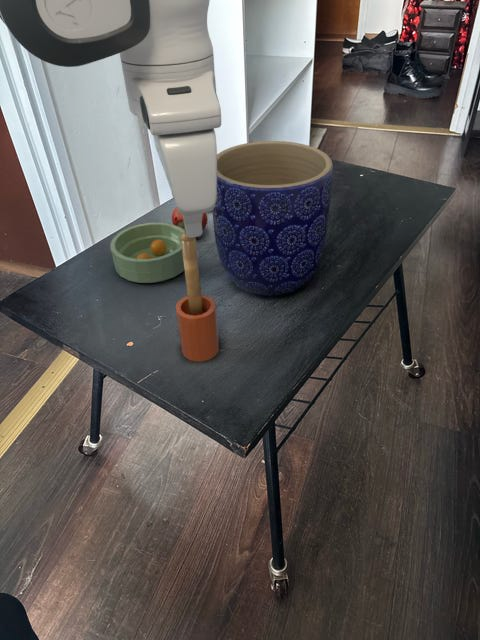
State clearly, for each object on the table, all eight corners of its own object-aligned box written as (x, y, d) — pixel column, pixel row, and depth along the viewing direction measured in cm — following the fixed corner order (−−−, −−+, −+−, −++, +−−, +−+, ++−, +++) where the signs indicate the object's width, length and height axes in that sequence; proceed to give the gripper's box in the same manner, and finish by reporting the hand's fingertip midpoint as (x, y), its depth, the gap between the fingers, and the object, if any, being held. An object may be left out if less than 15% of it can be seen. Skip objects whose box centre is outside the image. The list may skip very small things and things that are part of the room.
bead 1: (138, 274, 84) (135, 260, 82) (136, 265, 86) (133, 251, 85) (155, 271, 85) (152, 257, 83) (153, 263, 87) (150, 248, 85)
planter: (339, 266, 85) (353, 152, 72) (291, 322, 74) (297, 198, 61) (252, 240, 93) (250, 133, 80) (196, 287, 82) (183, 171, 68)
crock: (185, 365, 67) (179, 321, 62) (179, 340, 71) (173, 297, 66) (222, 357, 68) (219, 314, 63) (214, 333, 72) (210, 291, 67)
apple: (187, 249, 91) (181, 201, 85) (168, 236, 96) (161, 189, 89) (219, 236, 95) (215, 188, 89) (199, 224, 99) (194, 177, 93)
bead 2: (152, 260, 88) (150, 246, 86) (150, 252, 90) (148, 238, 88) (168, 257, 88) (166, 243, 86) (166, 249, 90) (164, 235, 89)
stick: (195, 351, 68) (181, 236, 56) (193, 343, 70) (178, 228, 58) (207, 348, 69) (196, 233, 57) (205, 340, 70) (193, 226, 58)
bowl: (118, 291, 81) (112, 267, 78) (114, 251, 92) (108, 228, 88) (196, 278, 84) (193, 253, 81) (183, 240, 94) (180, 217, 91)
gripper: (130, 68, 54) (149, 183, 63) (151, 122, 39) (172, 264, 48) (185, 63, 55) (196, 177, 64) (225, 113, 40) (233, 253, 49)
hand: (186, 215), depth 56 cm, fingers open, 8 cm apart
